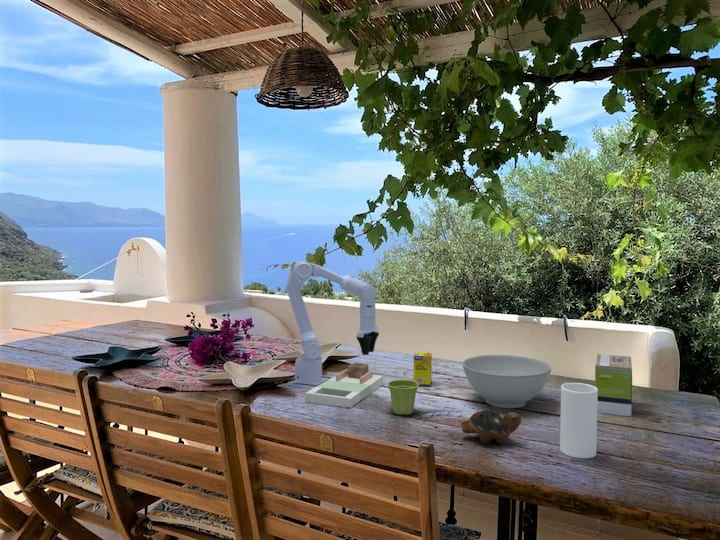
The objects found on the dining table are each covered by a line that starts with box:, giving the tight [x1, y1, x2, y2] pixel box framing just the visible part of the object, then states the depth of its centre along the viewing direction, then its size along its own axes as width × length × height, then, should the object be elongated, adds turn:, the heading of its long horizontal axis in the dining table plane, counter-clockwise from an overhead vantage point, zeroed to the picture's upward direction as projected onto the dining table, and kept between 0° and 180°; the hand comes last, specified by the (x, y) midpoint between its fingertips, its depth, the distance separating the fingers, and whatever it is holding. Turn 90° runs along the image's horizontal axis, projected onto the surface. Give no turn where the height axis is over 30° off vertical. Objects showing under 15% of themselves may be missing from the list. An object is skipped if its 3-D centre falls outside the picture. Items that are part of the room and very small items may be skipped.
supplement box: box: [413, 351, 433, 388], centre depth 188 cm, size 6×6×11 cm
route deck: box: [304, 368, 385, 409], centre depth 179 cm, size 16×28×5 cm, turn 156°
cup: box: [559, 382, 598, 459], centre depth 130 cm, size 8×8×16 cm
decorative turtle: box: [460, 409, 522, 446], centre depth 137 cm, size 10×15×8 cm, turn 80°
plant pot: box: [387, 379, 420, 416], centre depth 160 cm, size 9×9×9 cm
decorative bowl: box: [462, 354, 552, 409], centre depth 168 cm, size 27×27×12 cm
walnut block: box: [347, 362, 369, 379], centre depth 188 cm, size 6×6×4 cm
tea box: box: [594, 353, 633, 417], centre depth 162 cm, size 15×10×15 cm, turn 154°
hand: (368, 353), depth 196 cm, fingers open, 4 cm apart
